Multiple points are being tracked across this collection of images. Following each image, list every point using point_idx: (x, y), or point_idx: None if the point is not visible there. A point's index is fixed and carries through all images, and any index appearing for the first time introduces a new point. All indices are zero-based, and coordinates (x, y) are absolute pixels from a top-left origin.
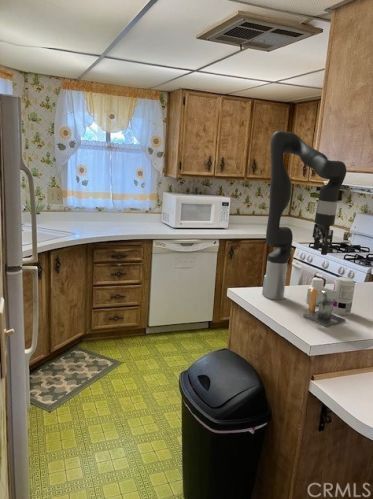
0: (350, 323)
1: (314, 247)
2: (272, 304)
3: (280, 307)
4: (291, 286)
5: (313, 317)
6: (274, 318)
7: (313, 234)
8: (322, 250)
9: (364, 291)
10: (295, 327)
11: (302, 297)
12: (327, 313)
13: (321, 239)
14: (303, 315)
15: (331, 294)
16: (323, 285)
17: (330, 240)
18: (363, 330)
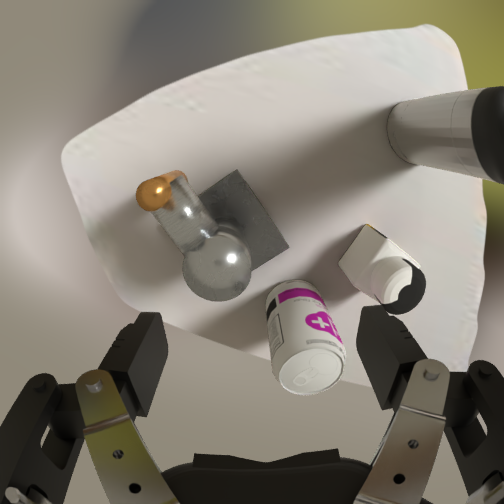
0: None
1: (369, 318)
2: (342, 99)
3: (317, 117)
4: (483, 227)
5: (215, 198)
6: (211, 73)
7: (491, 390)
8: (129, 337)
9: None
10: (147, 125)
11: (410, 228)
12: None
13: (104, 421)
14: (235, 170)
15: (183, 272)
16: (375, 295)
17: (49, 453)
18: (165, 312)
